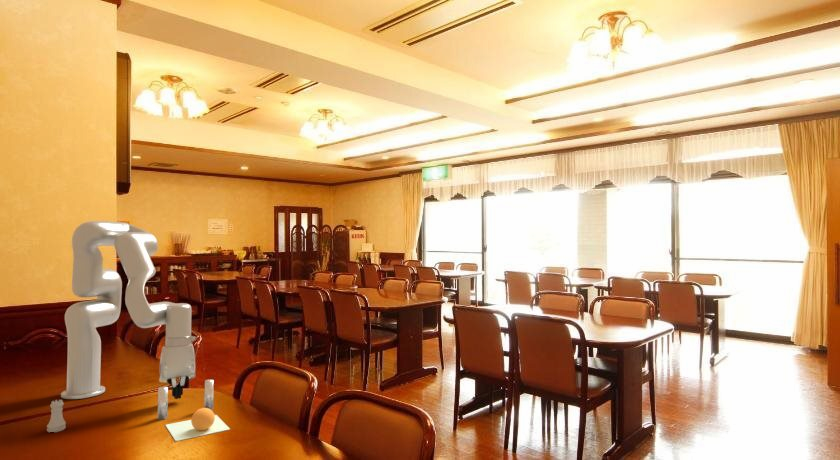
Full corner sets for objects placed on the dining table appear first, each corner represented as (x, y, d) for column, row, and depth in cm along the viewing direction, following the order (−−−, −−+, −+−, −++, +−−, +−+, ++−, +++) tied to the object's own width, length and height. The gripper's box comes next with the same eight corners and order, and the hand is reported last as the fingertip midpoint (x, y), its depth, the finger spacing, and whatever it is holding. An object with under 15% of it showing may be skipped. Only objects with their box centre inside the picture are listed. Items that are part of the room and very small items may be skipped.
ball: (195, 432, 134) (190, 433, 138) (218, 426, 138) (212, 428, 142) (193, 409, 136) (188, 411, 140) (216, 404, 139) (210, 406, 144)
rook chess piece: (55, 433, 135) (56, 404, 135) (42, 432, 136) (42, 403, 136) (70, 427, 140) (70, 399, 140) (57, 426, 140) (57, 398, 141)
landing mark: (165, 425, 142) (165, 424, 142) (216, 415, 150) (216, 414, 150) (175, 441, 131) (175, 440, 131) (230, 429, 139) (230, 428, 139)
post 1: (156, 417, 148) (157, 387, 148) (166, 415, 149) (167, 385, 150) (158, 420, 146) (159, 389, 146) (168, 418, 147) (168, 388, 148)
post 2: (203, 409, 156) (203, 380, 156) (211, 407, 157) (212, 378, 158) (205, 411, 154) (205, 382, 154) (214, 409, 155) (214, 380, 155)
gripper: (199, 337, 170) (198, 391, 169) (150, 342, 161) (149, 399, 160) (205, 340, 164) (204, 396, 163) (154, 346, 155) (153, 405, 154)
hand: (177, 397), depth 162 cm, fingers closed
